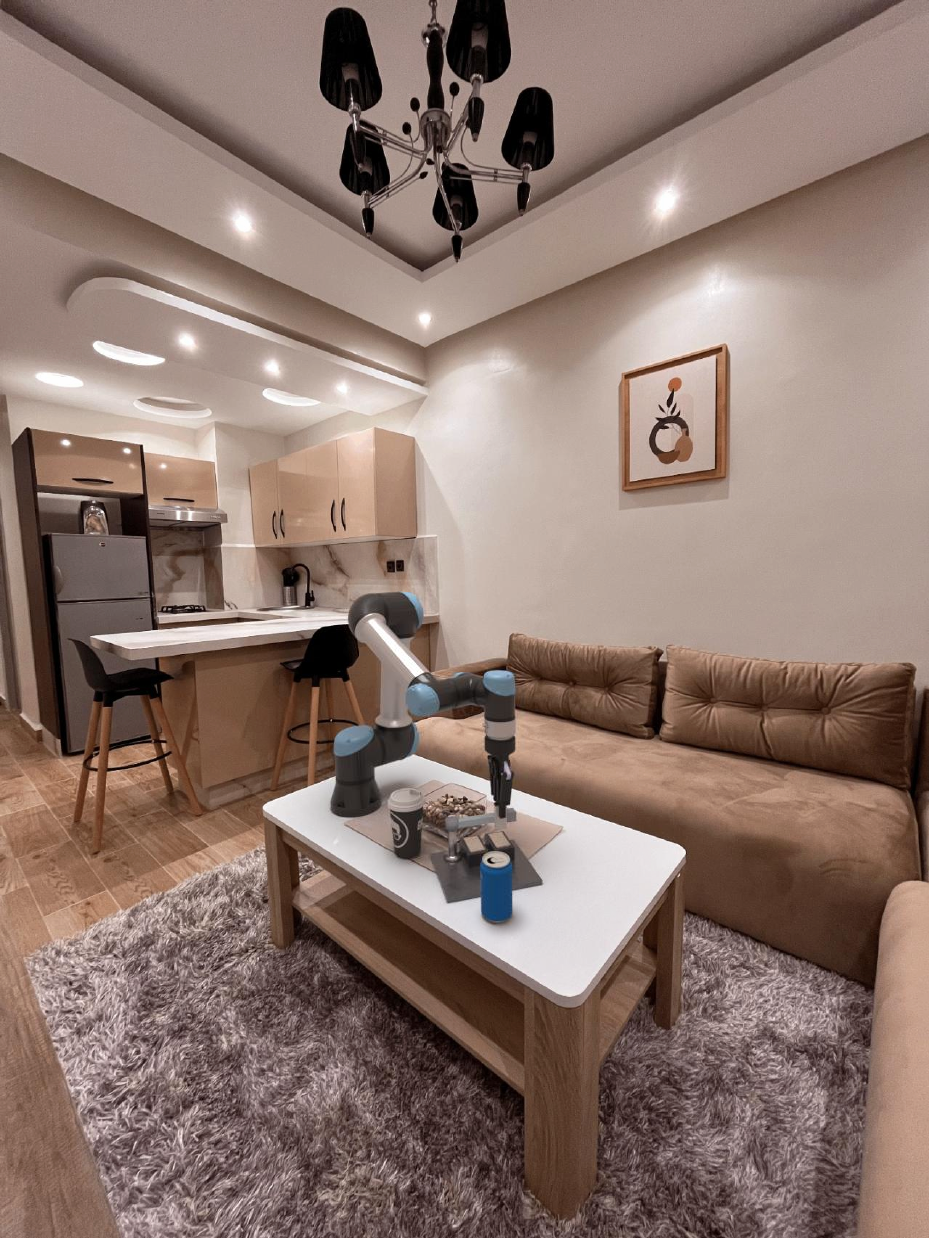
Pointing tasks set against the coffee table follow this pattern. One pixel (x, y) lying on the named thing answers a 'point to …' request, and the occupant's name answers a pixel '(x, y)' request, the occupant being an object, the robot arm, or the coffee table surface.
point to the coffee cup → (406, 821)
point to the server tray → (478, 865)
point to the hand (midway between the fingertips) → (500, 828)
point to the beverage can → (496, 886)
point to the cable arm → (476, 820)
